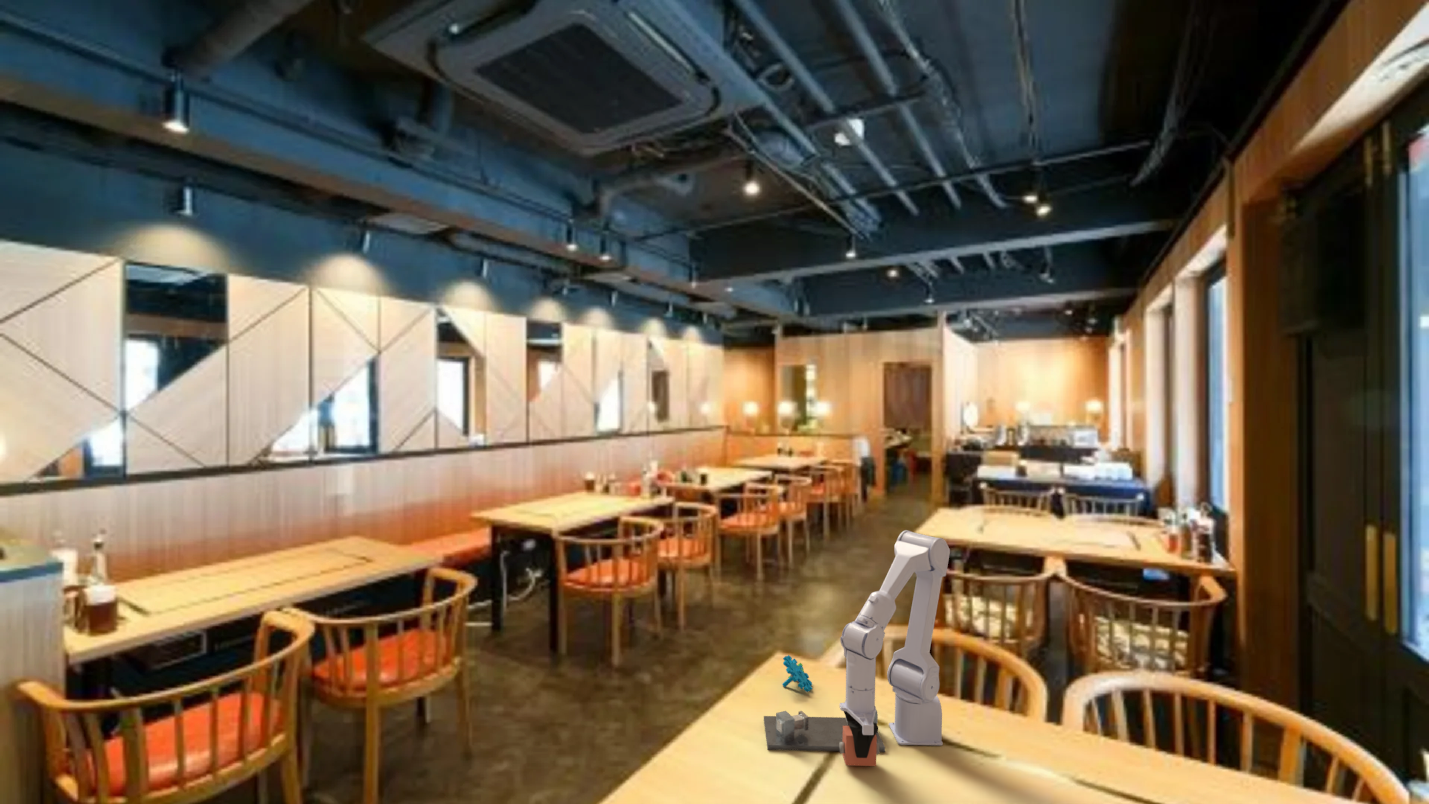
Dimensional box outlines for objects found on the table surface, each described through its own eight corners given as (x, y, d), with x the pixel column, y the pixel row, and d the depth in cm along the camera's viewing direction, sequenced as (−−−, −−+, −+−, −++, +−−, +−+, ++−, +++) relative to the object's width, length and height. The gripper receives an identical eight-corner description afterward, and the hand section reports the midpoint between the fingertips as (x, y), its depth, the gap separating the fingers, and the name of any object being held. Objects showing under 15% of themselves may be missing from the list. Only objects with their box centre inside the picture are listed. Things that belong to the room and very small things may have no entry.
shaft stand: (871, 722, 142) (872, 698, 142) (885, 752, 131) (885, 726, 130) (763, 720, 142) (764, 696, 142) (767, 749, 131) (768, 723, 131)
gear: (810, 694, 151) (783, 659, 154) (793, 709, 152) (766, 674, 155) (817, 680, 162) (792, 648, 165) (801, 694, 163) (775, 662, 166)
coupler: (875, 755, 128) (876, 726, 128) (880, 765, 124) (880, 736, 124) (838, 754, 128) (838, 725, 128) (841, 765, 124) (842, 735, 124)
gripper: (833, 667, 133) (832, 730, 133) (847, 702, 118) (846, 772, 119) (867, 667, 133) (865, 730, 133) (885, 702, 118) (883, 773, 119)
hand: (859, 750), depth 126 cm, fingers closed on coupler, 4 cm apart
